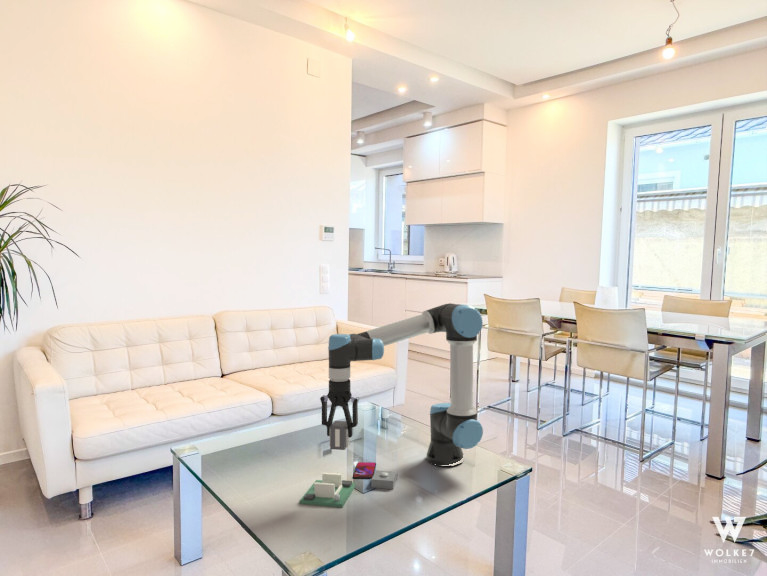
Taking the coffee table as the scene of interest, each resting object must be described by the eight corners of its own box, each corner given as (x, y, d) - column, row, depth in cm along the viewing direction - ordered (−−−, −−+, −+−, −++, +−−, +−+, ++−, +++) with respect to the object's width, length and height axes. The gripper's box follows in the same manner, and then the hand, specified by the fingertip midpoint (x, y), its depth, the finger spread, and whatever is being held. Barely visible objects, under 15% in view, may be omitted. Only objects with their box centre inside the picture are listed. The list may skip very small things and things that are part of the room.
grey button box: (397, 479, 180) (397, 470, 180) (393, 489, 172) (393, 479, 172) (376, 478, 182) (376, 468, 182) (371, 487, 174) (371, 477, 174)
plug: (349, 444, 170) (349, 421, 170) (344, 450, 164) (344, 426, 164) (335, 443, 171) (335, 420, 171) (330, 449, 165) (330, 425, 165)
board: (355, 486, 175) (355, 470, 175) (342, 507, 159) (342, 490, 159) (316, 483, 178) (315, 468, 178) (299, 503, 163) (299, 487, 162)
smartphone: (376, 462, 196) (372, 477, 181) (376, 464, 196) (372, 479, 181) (357, 462, 197) (352, 477, 182) (357, 464, 197) (352, 479, 182)
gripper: (367, 377, 169) (367, 443, 169) (318, 375, 172) (318, 440, 173) (362, 382, 161) (362, 451, 162) (311, 380, 165) (311, 447, 166)
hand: (339, 445), depth 167 cm, fingers closed on plug, 5 cm apart
